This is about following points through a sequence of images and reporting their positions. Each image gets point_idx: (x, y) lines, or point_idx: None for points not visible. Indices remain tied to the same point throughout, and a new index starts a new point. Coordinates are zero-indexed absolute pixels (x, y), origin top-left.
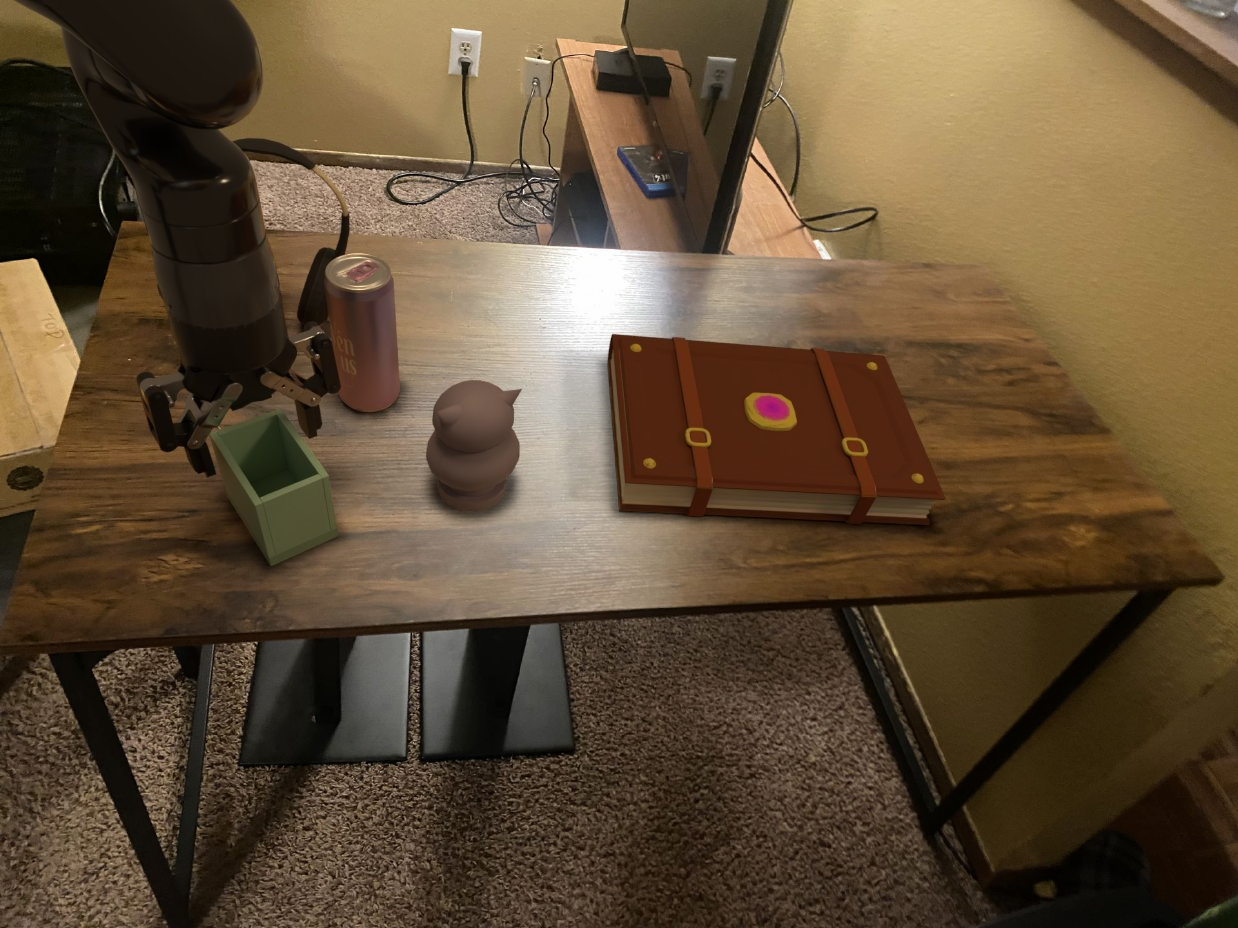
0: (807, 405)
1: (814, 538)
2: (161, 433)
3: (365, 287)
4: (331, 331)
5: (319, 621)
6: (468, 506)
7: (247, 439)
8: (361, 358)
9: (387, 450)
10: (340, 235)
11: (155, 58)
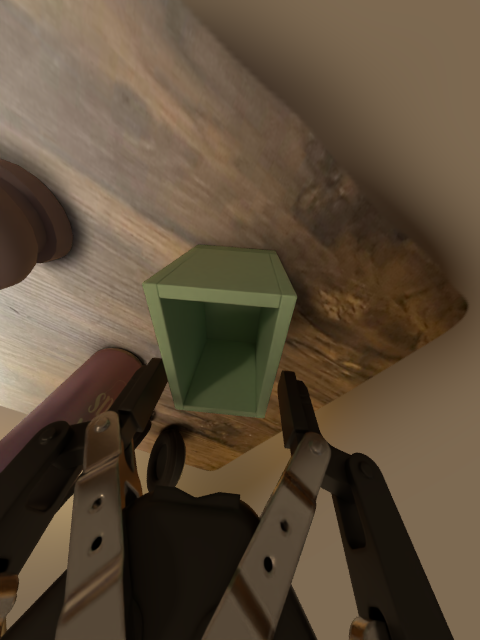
0: None
1: None
2: (398, 529)
3: None
4: None
5: (280, 114)
6: (20, 173)
7: (227, 388)
8: (74, 412)
9: (120, 311)
10: (58, 509)
11: None
